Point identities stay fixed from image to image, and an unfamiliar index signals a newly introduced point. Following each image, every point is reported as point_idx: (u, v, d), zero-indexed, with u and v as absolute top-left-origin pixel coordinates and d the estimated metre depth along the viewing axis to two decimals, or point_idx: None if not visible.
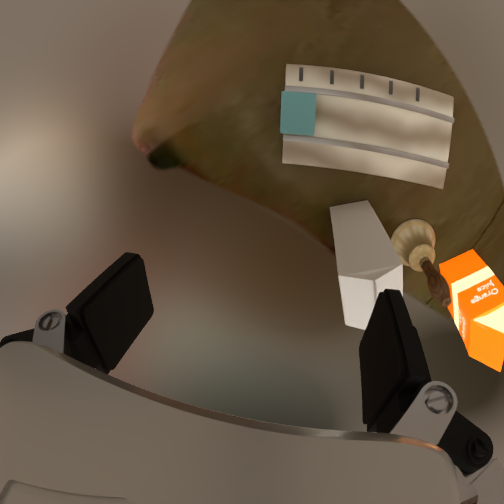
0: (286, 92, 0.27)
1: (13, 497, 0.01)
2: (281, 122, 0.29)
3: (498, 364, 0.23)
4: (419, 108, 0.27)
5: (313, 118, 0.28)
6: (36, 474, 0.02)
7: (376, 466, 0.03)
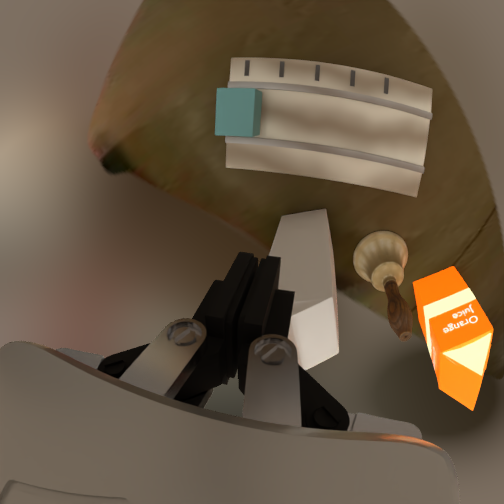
0: (222, 89, 0.24)
1: (13, 497, 0.01)
2: (216, 123, 0.26)
3: (470, 403, 0.20)
4: (387, 101, 0.24)
5: (251, 117, 0.25)
6: (36, 474, 0.02)
7: (376, 466, 0.03)
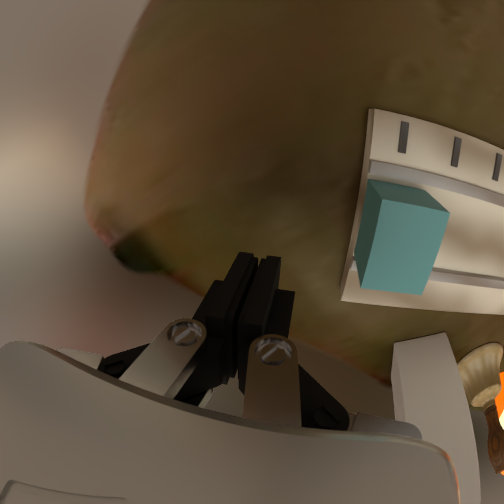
0: (392, 203, 0.12)
1: (13, 497, 0.01)
2: (368, 268, 0.14)
3: None
4: None
5: (431, 264, 0.13)
6: (36, 474, 0.02)
7: (376, 466, 0.03)
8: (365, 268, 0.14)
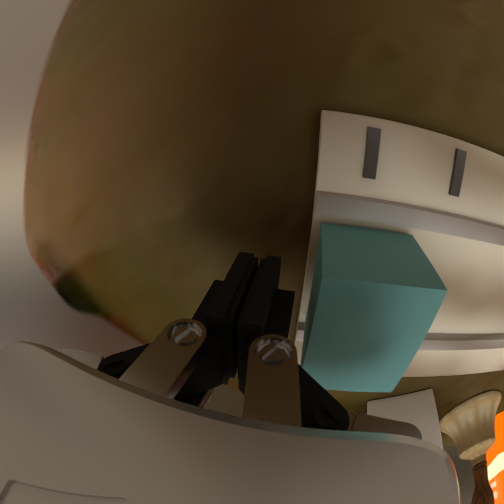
0: (342, 283, 0.07)
1: (13, 497, 0.01)
2: (305, 367, 0.09)
3: None
4: None
5: (408, 359, 0.08)
6: (36, 474, 0.02)
7: (376, 466, 0.03)
8: (302, 365, 0.09)
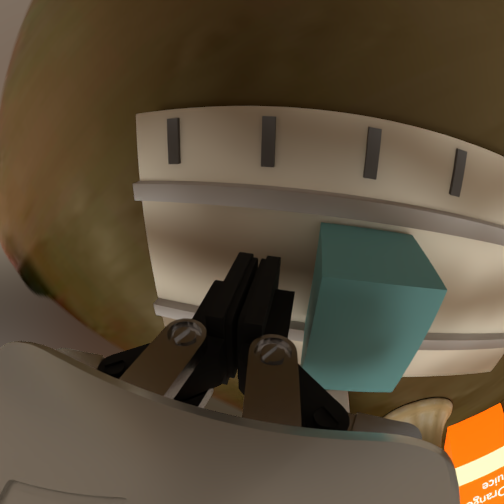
0: (341, 283, 0.07)
1: (13, 497, 0.01)
2: (305, 367, 0.09)
3: None
4: None
5: (408, 359, 0.08)
6: (36, 474, 0.02)
7: (376, 466, 0.03)
8: (302, 365, 0.09)
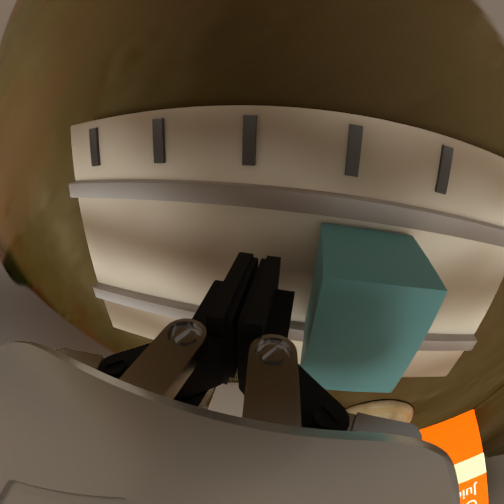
0: (342, 283, 0.07)
1: (13, 497, 0.01)
2: (305, 367, 0.09)
3: None
4: (442, 220, 0.09)
5: (408, 360, 0.08)
6: (36, 474, 0.02)
7: (376, 466, 0.03)
8: (302, 365, 0.09)
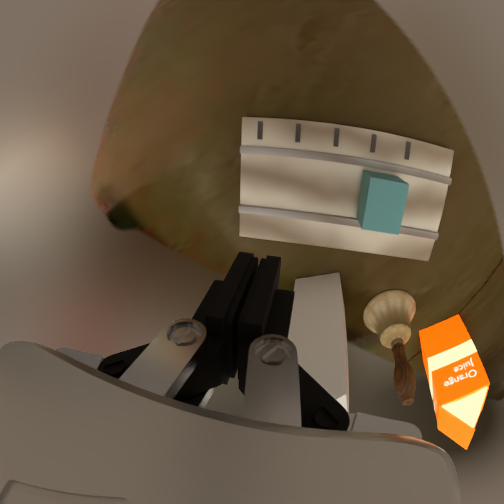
0: (376, 179, 0.23)
1: (13, 497, 0.01)
2: (365, 216, 0.24)
3: (464, 444, 0.20)
4: (408, 169, 0.24)
5: (401, 214, 0.23)
6: (36, 474, 0.02)
7: (376, 466, 0.03)
8: (363, 217, 0.25)
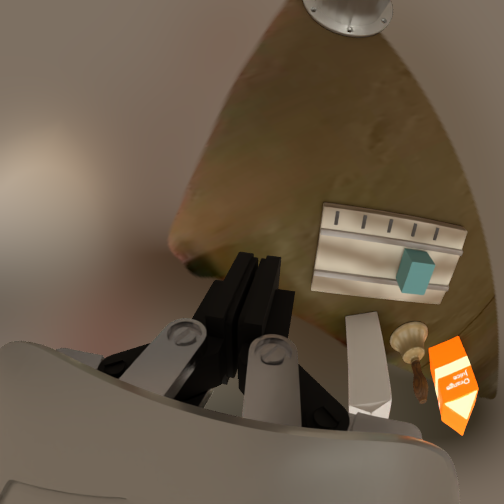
0: (415, 263, 0.32)
1: (13, 497, 0.01)
2: (404, 285, 0.34)
3: (461, 431, 0.30)
4: (434, 247, 0.34)
5: (427, 283, 0.33)
6: (36, 474, 0.02)
7: (376, 466, 0.03)
8: (403, 285, 0.34)
